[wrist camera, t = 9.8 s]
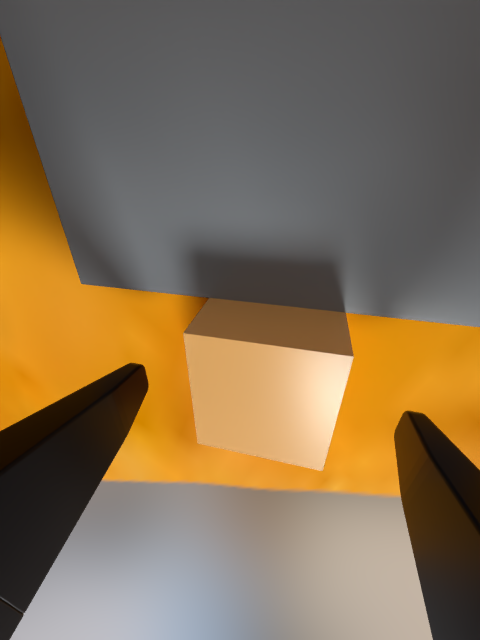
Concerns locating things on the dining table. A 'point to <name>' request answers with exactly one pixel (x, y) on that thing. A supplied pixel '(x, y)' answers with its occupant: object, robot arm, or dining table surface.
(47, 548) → the robot arm
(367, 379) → the dining table surface
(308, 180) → the lid
